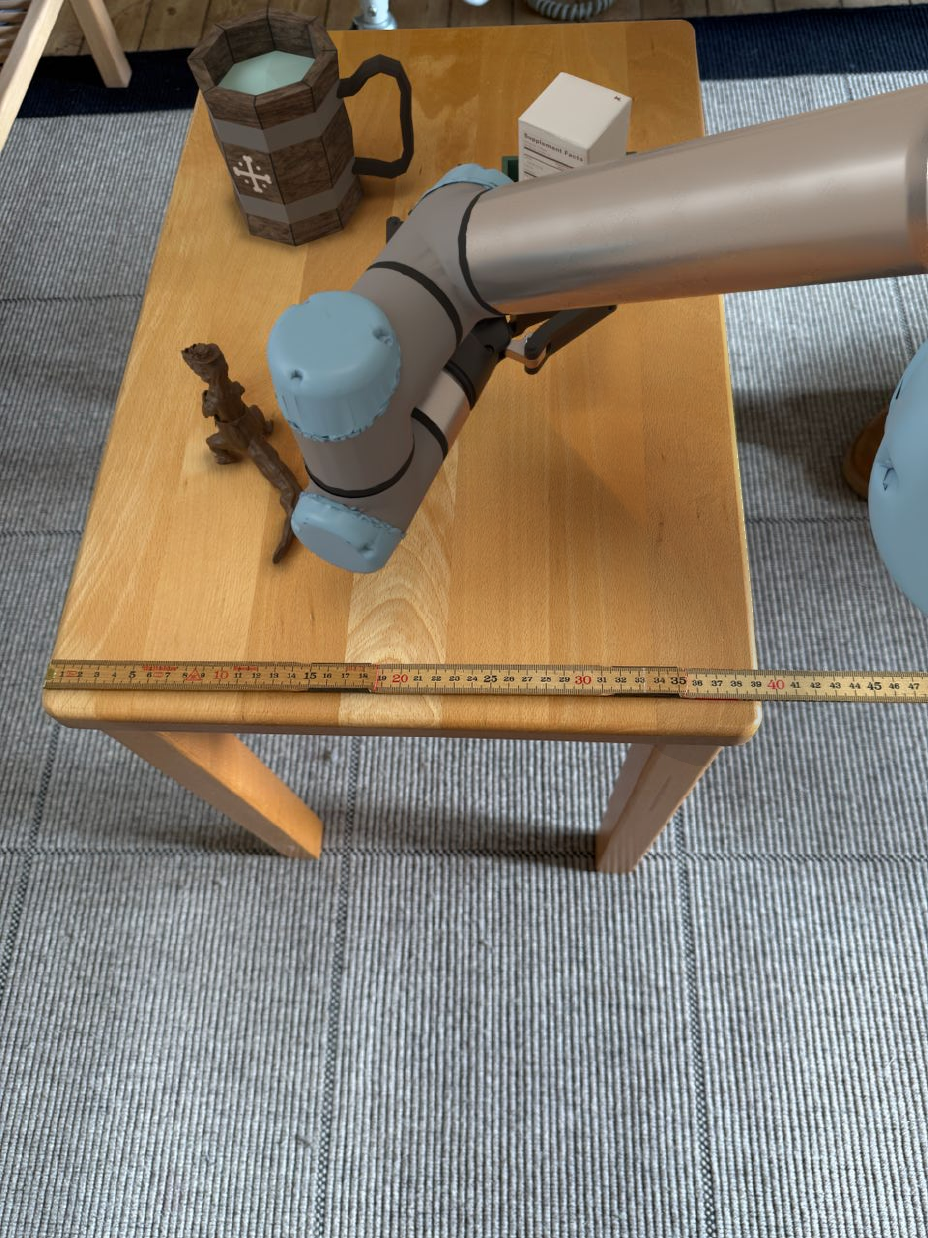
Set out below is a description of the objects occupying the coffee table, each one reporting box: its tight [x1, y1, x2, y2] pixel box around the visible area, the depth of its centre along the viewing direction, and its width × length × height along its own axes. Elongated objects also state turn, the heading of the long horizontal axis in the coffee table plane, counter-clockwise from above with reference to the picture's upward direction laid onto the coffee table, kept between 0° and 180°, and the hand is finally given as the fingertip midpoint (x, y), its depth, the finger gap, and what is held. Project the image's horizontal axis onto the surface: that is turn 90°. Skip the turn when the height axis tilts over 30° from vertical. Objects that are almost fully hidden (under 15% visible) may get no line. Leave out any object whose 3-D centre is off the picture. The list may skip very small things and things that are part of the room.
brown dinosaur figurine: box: [180, 342, 304, 565], centre depth 71 cm, size 15×10×12 cm, turn 174°
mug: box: [186, 6, 415, 247], centre depth 84 cm, size 20×14×15 cm
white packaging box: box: [517, 71, 633, 181], centre depth 81 cm, size 7×7×13 cm
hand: (537, 197), depth 74 cm, fingers open, 13 cm apart
